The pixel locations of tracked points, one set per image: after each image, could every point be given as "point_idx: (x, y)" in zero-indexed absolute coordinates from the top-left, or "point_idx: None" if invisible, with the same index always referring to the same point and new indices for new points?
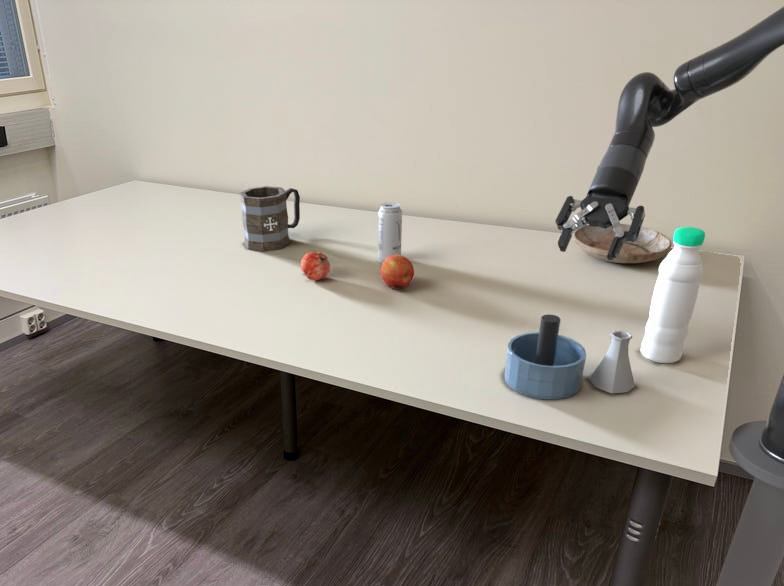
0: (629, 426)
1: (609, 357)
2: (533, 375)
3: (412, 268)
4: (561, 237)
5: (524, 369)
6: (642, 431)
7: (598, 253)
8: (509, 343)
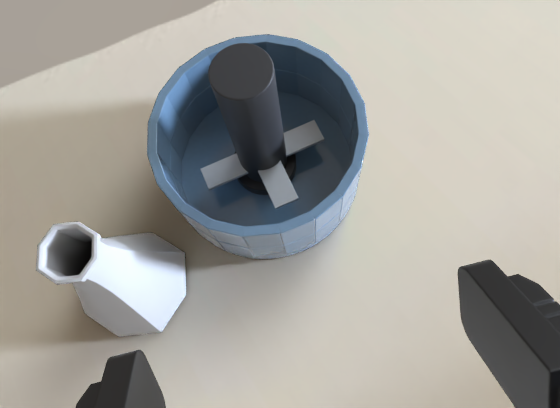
0: (29, 157)
1: (113, 240)
2: None
3: None
4: (552, 317)
5: None
6: (3, 161)
7: None
8: (347, 79)
